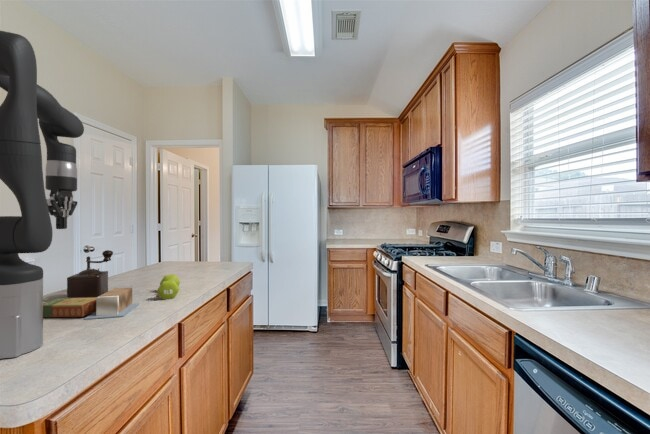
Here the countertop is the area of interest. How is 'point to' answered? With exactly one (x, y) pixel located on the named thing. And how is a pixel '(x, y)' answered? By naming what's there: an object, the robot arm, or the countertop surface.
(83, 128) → the robot arm
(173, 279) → the dumbbell
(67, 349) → the countertop surface
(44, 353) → the countertop surface
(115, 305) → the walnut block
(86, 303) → the carton
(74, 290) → the manual coffee grinder
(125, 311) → the mat
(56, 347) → the countertop surface
